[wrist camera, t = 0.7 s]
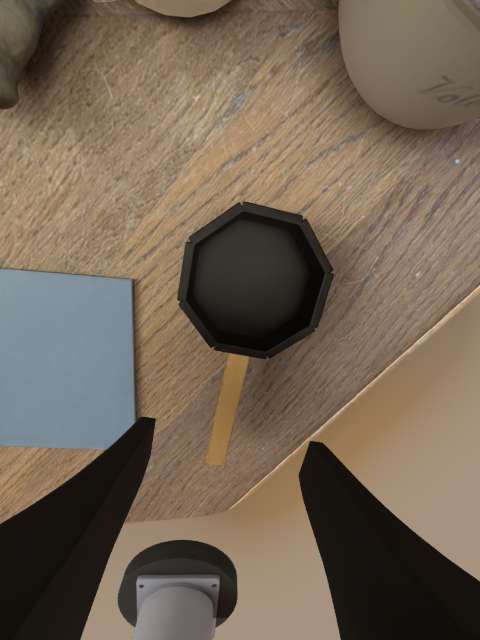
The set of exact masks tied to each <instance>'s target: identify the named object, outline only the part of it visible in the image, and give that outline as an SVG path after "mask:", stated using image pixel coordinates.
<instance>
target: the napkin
mask: <svg viewBox="0 0 480 640" xmlns="http://www.w3.org/2000/svg"><path fill="white" fill-rule="evenodd" d="M135 422H136V384H135V340H134V295H133V279H124V278H112V277H100V276H88V275H77V274H65V273H53V272H41V271H29V270H17V269H5V268H0V446H13V447H43V448H74V449H104V450H107V449H108V448H109V447H110V446H111V445H112V444H113V443H114V442H115V441H117V440H118V439H119V438H120V437H121V436H122V435H123V434H124V433H125V432H126V431H127V430H128V429H129V428H130V427H131V426H132V425H133V424H134V423H135Z"/></svg>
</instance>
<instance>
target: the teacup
mask: <svg viewBox="0 0 480 640" xmlns="http://www.w3.org/2000/svg"><path fill="white" fill-rule="evenodd" d="M338 17H339V36H340V44H341V49H342V55H343V59H344V62H345V65H346V68H347V71H348V74H349V76H350V79H351V81H352V83H353V84H354V86H355V88H356V90H357V91H358V93H359V94H360V96H361V97H362V98H363V100H364V101H365V102H366V103H367V104H368V105H369V106H370V107H371V108H372V109H373V110H374V111H375V112H376V113H377V114H379V115H380V116H382V117H384V118H385V119H387V120H388V121H390V122H393V123H395V124H398V125H400V126H404V127H408V128H413V129H425V130H431V129H440V128H447V127H451V126H455V125H459V124H463V123H465V122H468V121H471V120H474V119H476V118H479V117H480V0H339V8H338Z"/></svg>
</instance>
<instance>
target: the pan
mask: <svg viewBox="0 0 480 640" xmlns="http://www.w3.org/2000/svg"><path fill="white" fill-rule="evenodd" d="M302 219H303V216H302V215H298V214H294V213H290V212H286V211H281V210H277V209H273V208H269V207H265V206H261V205H257V204H253V203H249V202H243V205H241V204H240V202H239V203H237V204H236V205H234V206H233V207H231V208H230V209H229V210H227V211H226V212H224V213H223V214H221V215H220V216H219V217H217V218H216V219H214V220H213V221H211V222H210V223H209V224H207V225H206V226H204V227H203V228H201V229H200V230H199V231H197V232H196V233H194V234H193V235H191V236H190V237H189V240H190V241H191V242H186V245H185V251H184V258H183V265H182V271H181V278H180V284H179V291H178V298H177V300H178V301H181V302H180V303H179V306H180V307H181V309H182V310H183V311H184V313H185V314H186V315H187V317H188V318H189V319H190V321H191V322H192V323H193V325H194V326H195V328H196V329H197V330H198V332H199V333H200V334H201V336H202V337H203V338H204V340H205V341H206V342H207V344H208V345H209V346H210V348H212V347H214V350H216V351H222V352H227V353H228V357H227V362H226V367H225V371H224V376H223V380H222V385H221V390H220V394H219V399H218V404H217V408H216V413H215V417H214V422H213V427H212V431H211V436H210V441H209V445H208V450H207V459H206V464H209V465H216V466H224V463H225V459H226V455H227V451H228V447H229V442H230V438H231V434H232V430H233V426H234V422H235V418H236V413H237V409H238V405H239V401H240V397H241V393H242V388H243V384H244V380H245V376H246V372H247V368H248V364H249V359H250V357H255V358H261V359H266V358H267V356H268V358H272V357H273V356H275V355H276V354H278V353H280V352H281V351H283V350H285V349H286V348H288V347H290V346H291V345H293V344H294V343H296V342H298V341H299V340H301V339H303V338H304V337H306V336H308V335H309V334H311V333H312V332H314V331H315V329H314V328H313V327H315V328H317V327H318V325H319V321H320V318H321V315H322V312H323V308H324V305H325V302H326V298H327V295H328V292H329V289H330V285H331V282H332V279H333V276H334V274H331V273H330V272H332V271H333V268H332V266H331V264H330V262H329V261H328V259H327V257H326V255H325V253H324V251H323V249H322V247H321V245H320V243H319V242H318V240H317V238H316V236H315V234H314V232H313V230H312V228H311V226H310V224H309V222H308V221H307V219H304V220H302Z"/></svg>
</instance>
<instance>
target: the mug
mask: <svg viewBox="0 0 480 640" xmlns="http://www.w3.org/2000/svg"><path fill="white" fill-rule="evenodd" d="M93 1H94V2H95V3H96V2H110V1H118V0H93ZM135 1H136V2H137V3H138V4H140V5H142V6H145V7H147V8H149V9H152V10H154V11H156V12H159V13H161V14H163V15H168V16H180V17H194V16H198V15H202V14H206V13H210V12H214V11H216V10H217V9H219V8H220V7H222V6H223V5H225V4H226V3H228V2H230V1H231V0H135Z"/></svg>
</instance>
